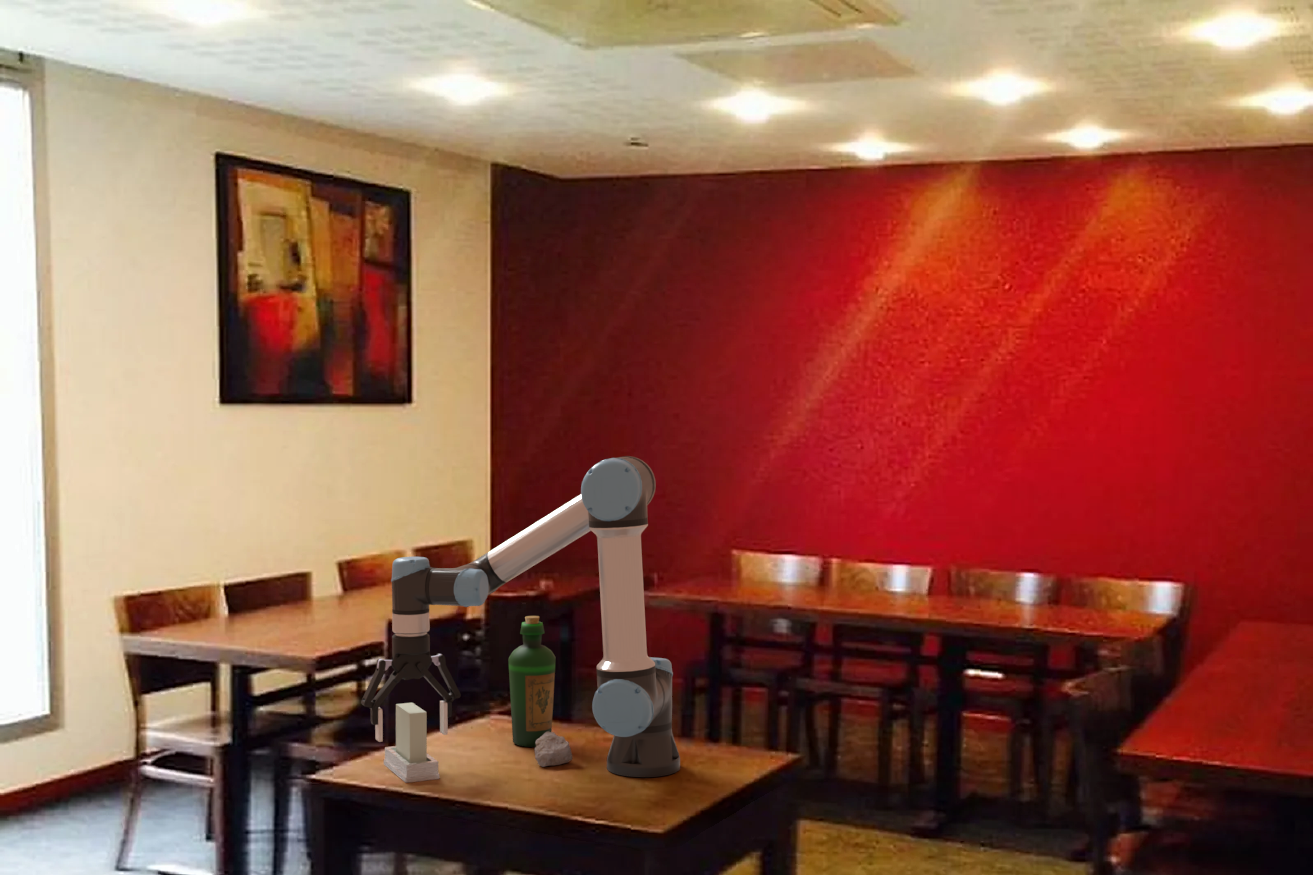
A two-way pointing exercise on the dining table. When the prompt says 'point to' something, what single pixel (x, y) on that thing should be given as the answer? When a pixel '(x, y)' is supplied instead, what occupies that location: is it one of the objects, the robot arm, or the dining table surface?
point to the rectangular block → (411, 732)
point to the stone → (552, 750)
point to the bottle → (531, 685)
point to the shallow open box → (410, 767)
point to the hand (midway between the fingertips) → (411, 737)
